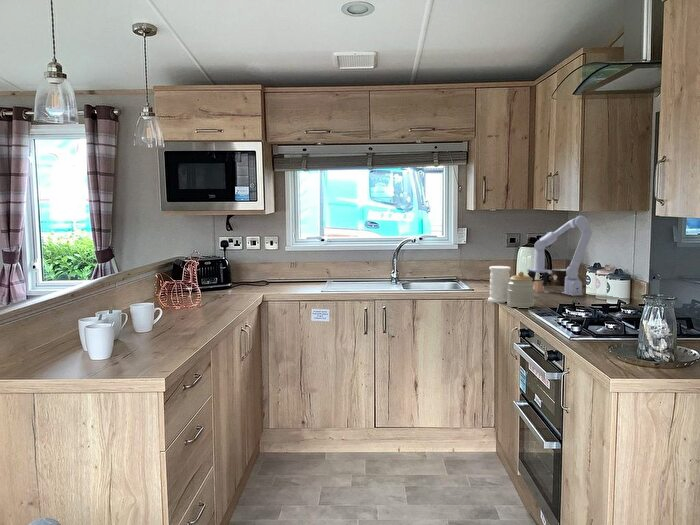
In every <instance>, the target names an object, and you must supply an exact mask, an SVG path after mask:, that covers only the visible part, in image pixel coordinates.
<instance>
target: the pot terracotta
mask: <svg viewBox="0 0 700 525" xmlns="http://www.w3.org/2000/svg"><path fill="white" fill-rule="evenodd" d="M533 289H534V292H544V291H545V286H543V280H539V279H538V280H536V279H535V281H534V285H533Z"/></svg>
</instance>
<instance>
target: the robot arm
mask: <svg viewBox="0 0 700 525" xmlns="http://www.w3.org/2000/svg"><path fill="white" fill-rule="evenodd" d="M576 227H577V228H578V229H579V231H580V233H581V236H580V239H579V241H578V243H577V246H576V249H575V251H574V254H573V257H572V259H571V261H570V264H569V265H568V266H567V267H566V268H565V269H566V275H567V276H566V277H565V286H564V291H561V293H562V294H565V295H568V296H570V295H571V296H572V297H573V296H584V294H583V282H582V280H580V277H579V268H580V265H581V263H582V260H583V257H584V255H585V252H586V250H587V247H588V244H589V242H590V239H591V238H592V232H593V231H592V228H591V225H590V222H589V220H588V219H587V217H585V216H584V215H577V216H576V217H575V218H572V219H570V220H569V221H567V222H566V223H564V224H563V225H561V226H560V227H558V229H556V230H555V231H550V232H548V231H547V232H546V234H544V236H542V237H539V240H537V241H536V242H534V246H533V247H534V254H533V255H534V257H533V259H534V260H533V268H532V267H528V268H526V272H527V276H530V277H531V278H533V280H532V282H533V283H534V281H535V280H536V274H537V273H541V274H542V281H543V286H544V287H547V284H548V281H549V279H550V278H551V276H552V275H553V272H552V269H546V268H545V265H546V262H545V261H546V258H545V257H546V253H545V249H546V247H549V246H551V245H552V244H553V243H554V242H556V241H557V240H558V237H559V236H560V235H562V234H563V233H565V232H566V231H568V230H570V229H574V228H576Z"/></svg>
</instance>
